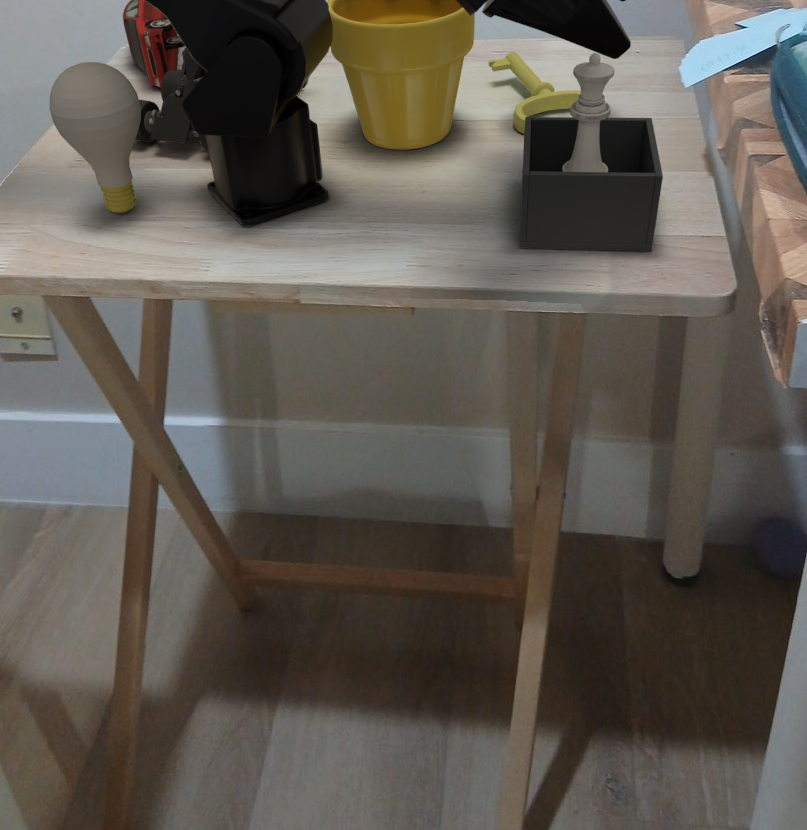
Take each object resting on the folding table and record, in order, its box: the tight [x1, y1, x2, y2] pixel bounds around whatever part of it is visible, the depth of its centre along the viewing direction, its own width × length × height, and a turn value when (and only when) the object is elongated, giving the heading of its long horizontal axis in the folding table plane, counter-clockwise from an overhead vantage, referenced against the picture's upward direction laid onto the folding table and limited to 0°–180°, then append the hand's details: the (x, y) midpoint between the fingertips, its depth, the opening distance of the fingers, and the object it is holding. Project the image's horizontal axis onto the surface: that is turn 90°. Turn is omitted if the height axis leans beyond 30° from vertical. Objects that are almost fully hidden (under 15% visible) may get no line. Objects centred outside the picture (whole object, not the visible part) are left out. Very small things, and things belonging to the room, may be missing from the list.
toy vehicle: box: [135, 47, 208, 151], centre depth 72 cm, size 8×15×9 cm, turn 159°
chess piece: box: [562, 52, 615, 172], centre depth 56 cm, size 4×4×10 cm
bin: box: [518, 116, 664, 252], centre depth 58 cm, size 8×8×5 cm
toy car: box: [122, 0, 185, 89], centre depth 83 cm, size 6×15×5 cm
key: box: [488, 51, 606, 135], centre depth 72 cm, size 7×12×2 cm, turn 36°
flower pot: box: [326, 0, 476, 151], centre depth 68 cm, size 10×10×10 cm
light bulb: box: [49, 61, 141, 215], centre depth 60 cm, size 6×6×10 cm
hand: (627, 21), depth 52 cm, fingers open, 9 cm apart
